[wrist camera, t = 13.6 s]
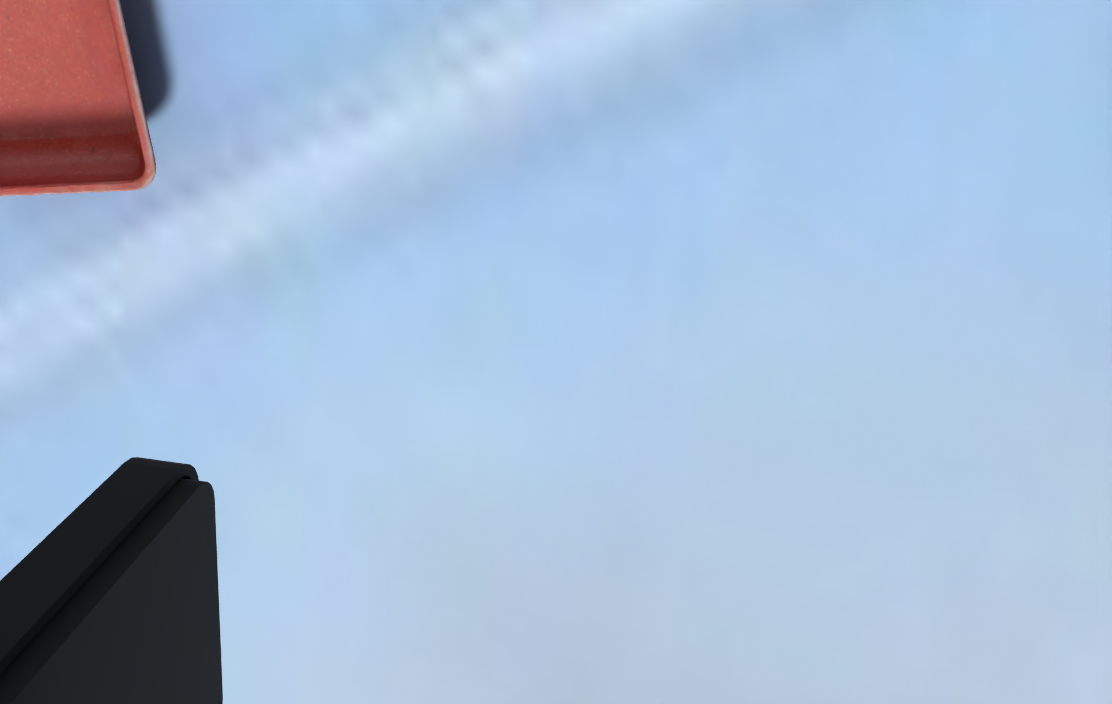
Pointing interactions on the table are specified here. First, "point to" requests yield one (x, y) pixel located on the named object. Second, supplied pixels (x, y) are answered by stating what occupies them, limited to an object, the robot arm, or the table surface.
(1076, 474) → the table surface
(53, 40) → the plant saucer
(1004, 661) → the table surface
